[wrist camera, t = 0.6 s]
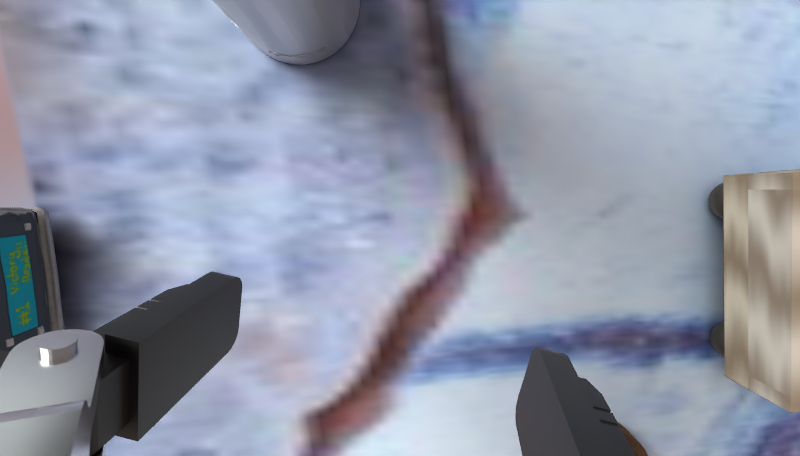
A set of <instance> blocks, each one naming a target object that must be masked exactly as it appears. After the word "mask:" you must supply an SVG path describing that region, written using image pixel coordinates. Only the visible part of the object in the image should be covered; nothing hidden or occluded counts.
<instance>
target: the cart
mask: <svg viewBox="0 0 800 456" xmlns="http://www.w3.org/2000/svg"><path fill="white" fill-rule="evenodd" d="M708 202H709V207H710V209H711V211H712V212H713V213H714V214H715V215H716V216H718V217H720V218H722V219H724V322H721V323H719V324H717V325H716V326H715V327H714V328H713V329H712V331H711V333H710V341H711V344H712V346H713V348H714V349H715V350H716V351H717V352H718V353H719V354H720V355H722V356H724V357H725V376H726V377H728V378H729V379H731V380H733V381H735V382H737V383H738V384H740V385H742V386H744V387H746V388H747V389H749V390H751V391H753V392H755V393H756V394H758V395H760V396H762V397H763V398H765V399H767V400H769V401H771V402H772V403H774V404H776V405H778V406H780V407H781V408H783V409H785V410H787V411H789V412H790V413H793V412H800V169H796V170H784V171H772V172H761V173H749V174H737V175H725V176H723V183H722V184H720V185H718V186H717V187H716V188H715V189H714V190H713V191H712V192H711V194H710V196H709V201H708Z"/></svg>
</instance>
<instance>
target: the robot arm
mask: <svg viewBox="0 0 800 456" xmlns="http://www.w3.org/2000/svg"><path fill="white" fill-rule="evenodd" d="M213 1H214V2H215V3H216V4H217V6H218V7H219V8H220V9H221V10H222V11H223V12H224V13H225V14H226V15H227V16H228V17H229V18H230V19H231V20H232V21H233V23H234V24H235V25H236V26H237V27H238V28H239V29H240V30H241V31H242V32H243V33H244V34H245V35H246V36H247V37H248V38H249V39H250V40H251V41H252V43H253V44H254V45H255V46H256V47H257V48H259V49H260V50H261V51H263V52H264V53H265V54H266V55H268V56H270V57H272V58H274V59H276V60H278V61H281V62H285V63H289V64H303V65H305V64H310V63H315V62H319V61H321V60H323V59H326V58H328V57H330V56H331V55H333V54H334V53H335V52H337V51H338V50H340V48H341V47H342V46H343V45H344V44H345V43H346V42H347V41H348V39H349V38H350V36H351V34H352V32H353V30H354V29H355V26H356V23H357V20H358V17H359V9H360V0H213ZM241 294H242V282H241V279H240V278H238V277H234V276H230V275H225V274H221V273H217V272H210V273H208V274H206V275H204V276H203V277H201V278H199V279H197V280H196V281H194V282H192V283H191V284H186V285H183V286H179V287H176V288H172V289H169V290H166V291H164V292H163V293H161V294H159V295H157V296H155V297H154V298H152V299H151V301H149V300H148V301H147V302H145V303H143V304H141V305H139V306H138V308H134V309H132V310H130V311H129V312H127V313H125V314H123V315H122V316H120V317H118V318H116V319H114V320H113V321H111V322H109V323H107V324H106V325H104V326H102V327H100V328H98V329H97V330H95V331H88V330H82V329H66V330H58V331H52V332H48V333H44V334H40V335H37V336H34V337H32V338H29V339H27V340H25V341H23V342H21V343H20V344H18V345H17V346H15V347H14V348H13V349H12V350H11V351H0V456H105V444H106V443H107V442H108V441H109V440H110V439H111V438H113V437H114V436H115V435H116V436H120V437H124V438H127V439H131V440H135V441H139V440H140V439H141V438H142V437H143V436H144V435H145V434H146V433H147V432H148V431H149V430H150V429H151V428H152V427H153V426H154V425H155V424H156V423H157V422H158V421H159V420H160V419H161V418H162V417H163V416H164V415H165V414H166V413H167V412H168V411H169V410H170V409H171V408H172V407H173V406H174V405H175V404H176V403H177V402H178V401H179V400H180V399H181V398H182V397H183V396H184V395H185V394H186V393H187V392H188V391H189V390H190V389H191V388H192V387H193V386H194V385H195V384H196V383H198V382H199V381H200V380H201V379H202V378H203V377H204V376H205V375H206V374H207V373H208V372H209V371H210V370H211V369H212V368H213V367H214V366H215V365H216V364H217V363H218V362H219V361H220V360H221V359H222V358H223V357H224V356H225V355H226V354H227V353H228V352H229V351H230V349H231V348H232V346H233V344H234V342H235V340H236V337H237V334H238V328H239V317H240V306H241ZM610 411H611V410H610V408H609V406H608V405H607V403H606V401H605V399H604V397H603V396H602V394H601V393H600V392H599V391H598V390H597V389H596V388H595V387H594V386H593V385H592V384H591V383H590V382H588V381H587V380H586V379H584V378H580V377H578V375H577V373H576V371H575V369H574V367H573V365H572V363H571V361H570V359H569V357H568V356H567V355H566V354H563V353H559V352H554V351H550V350H546V349H541V348H535V349H534V350H533V352H532V354H531V357H530V360H529V364H528V367H527V370H526V373H525V377H524V380H523V383H522V386H521V390H520V393H519V396H518V400H517V405H516V426H517V431H518V436H519V441H520V445H521V450H522V455H523V456H636V455H635V453H634V452H633V450H632V448H631V446H630V444H629V443H628V441H627V439H626V437H625V435H624V434H623V432H622V430H621V428H620V427H618V423H617V421H616V419H615V417H614V416H613V414H612V413H610Z"/></svg>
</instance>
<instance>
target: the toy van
mask: <svg viewBox="0 0 800 456" xmlns="http://www.w3.org/2000/svg"><path fill="white" fill-rule="evenodd" d="M32 210H36V211H37V213H36V212H34V211H32ZM58 330H64V325H63V315H62V306H61V297H60V288H59V279H58V271H57V264H56V257H55V250H54V243H53V236H52V229H51V222H50V217H49V213H48V212H47V211H46V210H45V209H43V208H39V207H33V208H32V209H31V210H30V209H24V208H0V351H11V350H12V349H13V348H14V347H15V346H17V345H18V344H20V343H21V342H23V341H25V340H27V339H29V338H32V337H34V336H37V335H40V334H44V333H48V332H52V331H58Z"/></svg>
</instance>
